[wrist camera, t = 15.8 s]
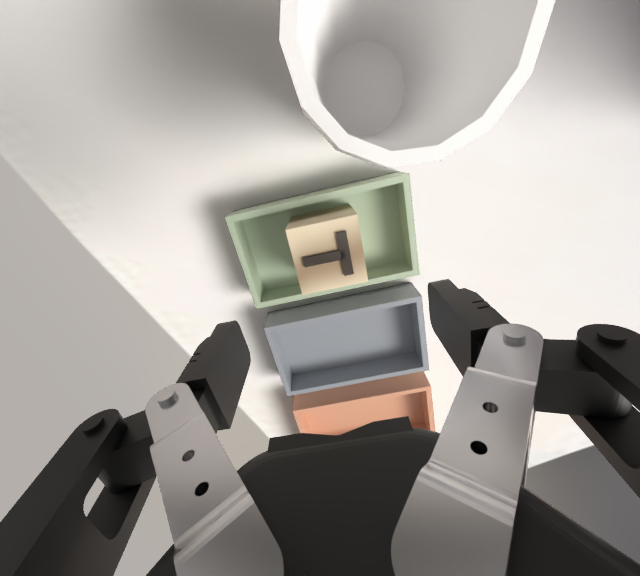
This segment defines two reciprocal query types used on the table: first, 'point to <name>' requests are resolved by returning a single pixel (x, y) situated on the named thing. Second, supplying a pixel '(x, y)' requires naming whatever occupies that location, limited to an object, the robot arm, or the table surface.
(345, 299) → the slate tray
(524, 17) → the foam cup
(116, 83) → the table surface
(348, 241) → the letter cube
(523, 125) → the table surface
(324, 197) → the sage tray
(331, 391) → the terracotta tray
